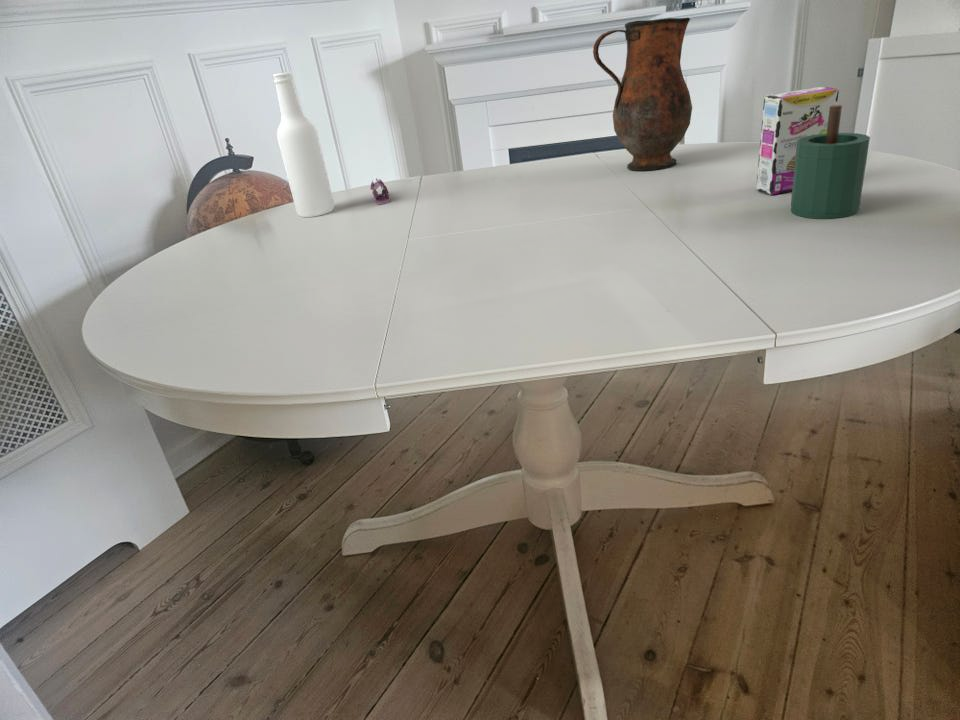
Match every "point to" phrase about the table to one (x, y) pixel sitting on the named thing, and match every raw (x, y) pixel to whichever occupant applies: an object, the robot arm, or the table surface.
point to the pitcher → (651, 92)
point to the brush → (833, 124)
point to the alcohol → (301, 153)
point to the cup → (829, 176)
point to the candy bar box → (789, 133)
